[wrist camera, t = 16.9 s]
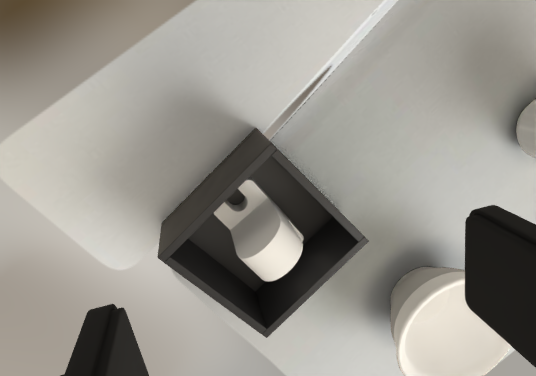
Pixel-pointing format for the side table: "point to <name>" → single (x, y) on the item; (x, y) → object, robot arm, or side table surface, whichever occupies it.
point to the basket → (222, 246)
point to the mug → (527, 129)
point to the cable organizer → (262, 233)
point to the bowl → (440, 327)
